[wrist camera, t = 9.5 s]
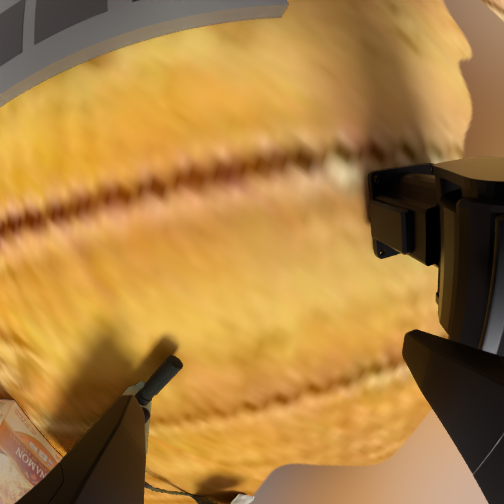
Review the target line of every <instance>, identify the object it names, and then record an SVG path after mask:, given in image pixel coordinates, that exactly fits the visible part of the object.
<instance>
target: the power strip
mask: <svg viewBox="0 0 504 504" xmlns="http://www.w3.org/2000/svg"><path fill="white" fill-rule="evenodd" d="M287 7H288V2H287V0H0V107H1V106H3V105H4V104H6V103H7V102H9V101H10V100H12V99H14V98H15V97H17V96H19V95H20V94H22V93H24V92H25V91H27V90H29V89H31V88H32V87H34V86H36V85H38V84H40V83H41V82H43V81H45V80H47V79H49V78H51V77H53V76H55V75H57V74H59V73H61V72H63V71H65V70H67V69H70V68H72V67H74V66H76V65H78V64H81V63H83V62H85V61H88V60H90V59H93V58H95V57H98V56H100V55H103V54H105V53H108V52H111V51H114V50H116V49H119V48H122V47H125V46H128V45H131V44H134V43H138V42H141V41H144V40H148V39H151V38H155V37H158V36H162V35H166V34H170V33H174V32H178V31H183V30H187V29H192V28H197V27H202V26H208V25H214V24H220V23H226V22H234V21H242V20H251V19H262V18H278V17H282V15H283V13H284V11H285V10H286V8H287Z"/></svg>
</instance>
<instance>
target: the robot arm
mask: <svg viewBox="0 0 504 504" xmlns="http://www.w3.org/2000/svg"><path fill="white" fill-rule="evenodd" d="M431 168H432V171H431V170H430V169H431ZM375 175H376V176H377V179H376V181H374V176H375ZM368 183H369V192H370V203H369V208H370V219H371V232H372V237H374V253H375V255H376V256H377V257H378V258H380V259H383V258H387V257H390V256H394V255H397V254H400V253H402V254H403V255H406V254H407V255H409V256H411V257H412V258H414V259H416V260H418V261H419V262H421V263H423V264H425V265H426V266H430V265H434V266H436V267H437V268H439V271H438V292H437V293H436V303H437V304H438V316H439V321H440V324H441V325H442V327H443V328H444V330H445V331H446V332H447V334H449V335H448V339H445V338H442V337H439V336H436V335H432V334H429V333H426V332H423V331H420V330H417V329H415V330H412V331H410V332H407V333H406V334H405V337H404V343H403V350H402V355H403V358H404V360H405V362H406V364H407V366H408V368H409V369H410V371H411V373H412V375H413V377H414V379H415V381H416V383H417V385H418V387H419V388H420V390H421V392H422V393H423V395H424V397H425V398H426V400H427V401H428V403H429V404H430V406H431V407H432V409H433V410H434V412H435V413H436V415H437V416H438V418H439V420H440V421H441V423H442V424H443V426H444V427H445V429H446V430H447V432H448V434H449V435H450V437H451V439H452V440H453V442H454V444H455V445H456V447H457V449H458V450H459V452H460V453H461V455H462V457H463V458H464V460H465V462H466V464H467V465H468V467H469V469H470V470H471V472H472V474H473V476H474V478H475V479H476V481H477V483H478V485H479V487H480V488H481V490H482V492H483V494H484V496H485V498H486V500H487V501H488V503H489V504H504V158H499V157H484V156H483V157H482V156H476V157H471V158H465V159H459V160H453V161H448V162H442V163H437V164H433V163H425V164H417V165H409V166H402V167H395V168H388V169H381V170H375V171H371V172H370V173H369V175H368ZM382 249H383V251H382V253H381V254H380V251H381V250H382ZM145 466H146V443H145V416H144V412H143V410H142V408H141V406H140V404H139V403H138V401H137V399H136V397H135V396H134V395H132V394H126V395H121V396H120V397H119V398H118V399H117V400H116V401H115V402H114V403H113V404H112V405H111V406H110V407H109V409H108V410H107V411H106V412H105V413H104V414H103V415H102V416H101V417H100V418H99V419H98V420H97V422H96V423H95V424H94V425H93V426H92V427H91V428H90V429H89V430H88V431H87V432H86V433H85V434H84V436H83V437H82V438H81V439H80V440H79V441H78V442H77V443H76V444H75V445H74V446H73V447H72V449H71V450H70V451H69V452H68V453H67V454H66V455H65V456H64V457H63V458H62V459H61V461H60V462H58V464H57V465H56V466H55V467H54V468H53V469H52V470H51V471H50V472H49V473H48V474H47V475H46V476H45V477H44V478H43V479H42V480H41V481H40V482H39V483H38V484H36V485H35V486H34V487H33V488H32V489H31V490H30V491H28V492H27V493H26V494H25V495H24V496H22V497H21V498H20V499H19V500H18V501H17V502H15V503H14V504H144V484H145Z"/></svg>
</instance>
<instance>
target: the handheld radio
mask: <svg viewBox="0 0 504 504" xmlns="http://www.w3.org/2000/svg"><path fill="white" fill-rule="evenodd" d="M182 367H183V364H182V362H181V361H180V359H178V358H177V357H176V356H173V355H170V356H169V357H168V358H167V359H166V360H165V361H164V363H163V364H162V365H161V366H160V367H159V368H158V369H157V371H156V372H155V373H154V374H153V375H152V376H151V377H150V379H149V380H148V381H147V382H146V383H144V382H142V381H141V382H139V383H138V384H136V385H135V386H134V385H132V386H130V387H128V388H127V389H126V390H125V391H124V392H123V394H122V395H126V394H132V395H134V396H135V397H136V399H137V401H138V403H139V404H140V406H141V408H142V410H143V412H144V416H145V443H146V454H147V448H148V434H149V422H150V411H151V401H152V398H153V397H154V395H157V394H158V393H159V392H160V390H161V389H162V388H163V387H164V386H165V385H166V384H167V383H168V382H169V381H170V380H171V379H172V378H173V377H174V376H175V375H176V374H177V373H178V372H179V371H180V370H181V368H182Z"/></svg>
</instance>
